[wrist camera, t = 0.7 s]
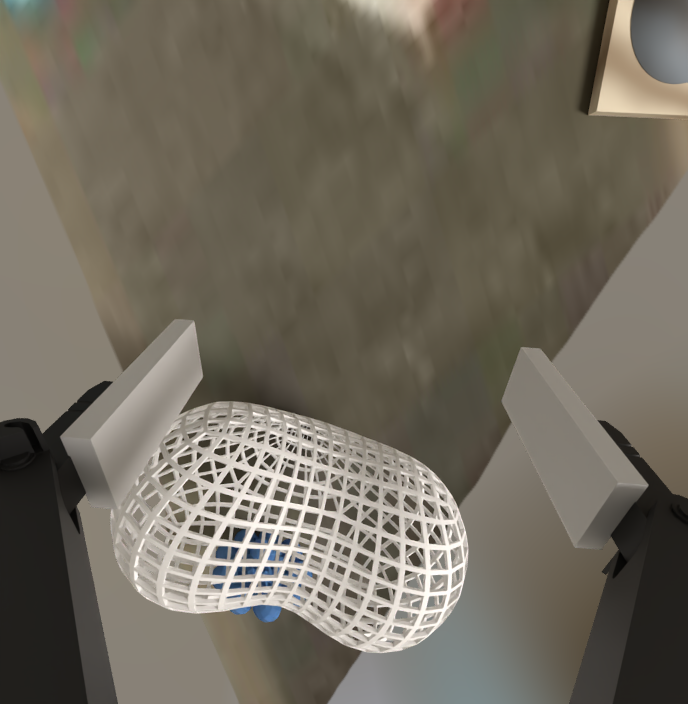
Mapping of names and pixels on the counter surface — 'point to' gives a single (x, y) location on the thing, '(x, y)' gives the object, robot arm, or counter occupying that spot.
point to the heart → (292, 528)
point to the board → (643, 61)
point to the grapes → (261, 611)
